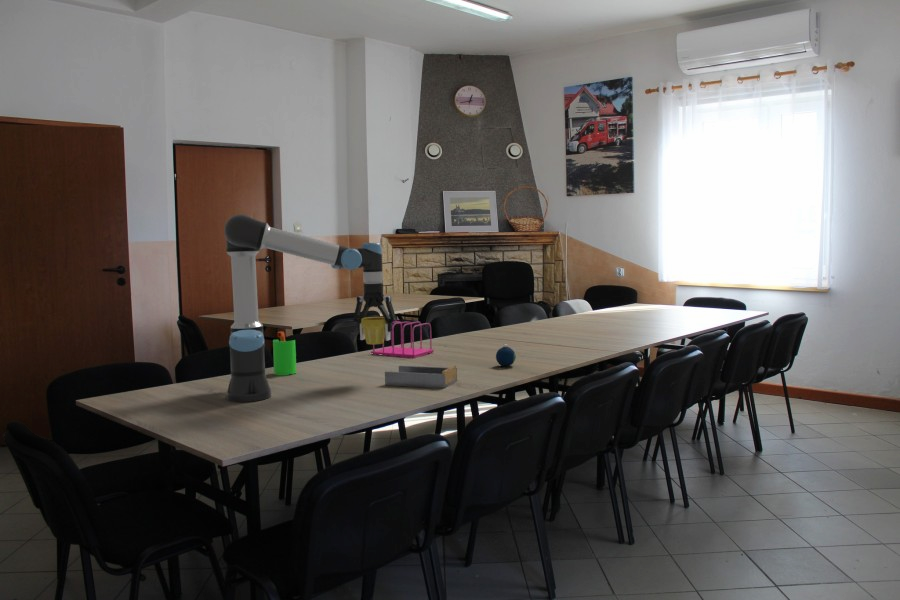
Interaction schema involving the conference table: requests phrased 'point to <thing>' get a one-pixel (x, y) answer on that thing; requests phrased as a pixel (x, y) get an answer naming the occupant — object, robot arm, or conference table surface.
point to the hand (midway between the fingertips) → (375, 339)
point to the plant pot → (374, 329)
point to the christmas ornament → (505, 356)
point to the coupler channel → (422, 376)
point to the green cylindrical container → (284, 356)
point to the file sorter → (403, 350)
